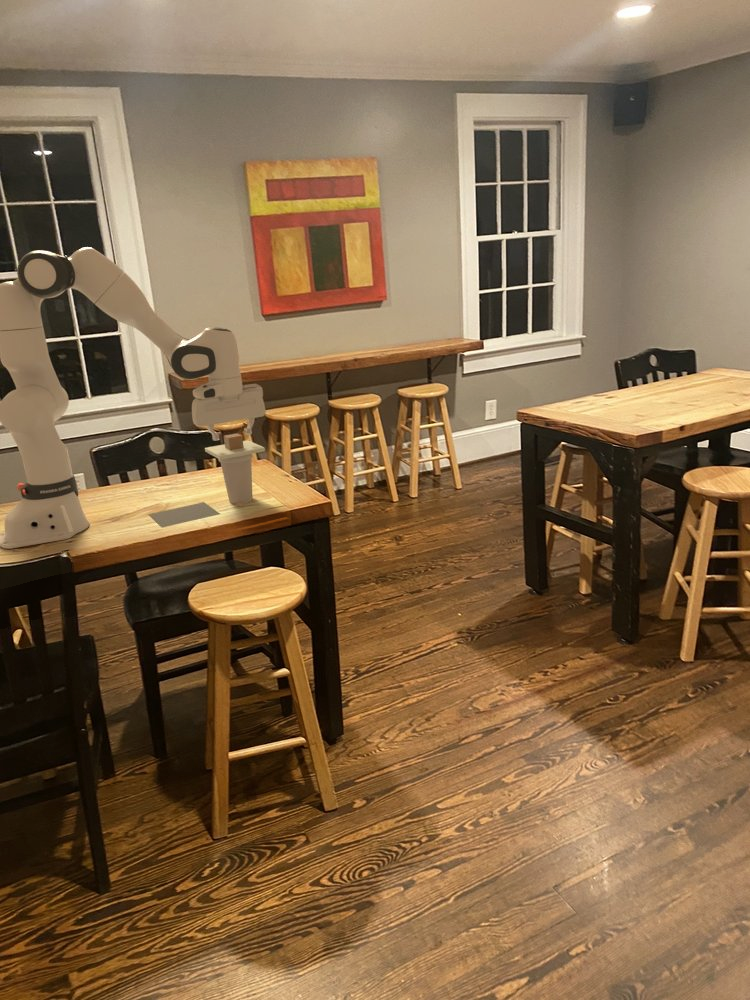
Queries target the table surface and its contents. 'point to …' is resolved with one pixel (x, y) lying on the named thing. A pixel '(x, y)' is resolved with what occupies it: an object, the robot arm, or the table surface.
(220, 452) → the lid
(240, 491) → the coffee cup
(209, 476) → the table surface
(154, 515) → the mat
